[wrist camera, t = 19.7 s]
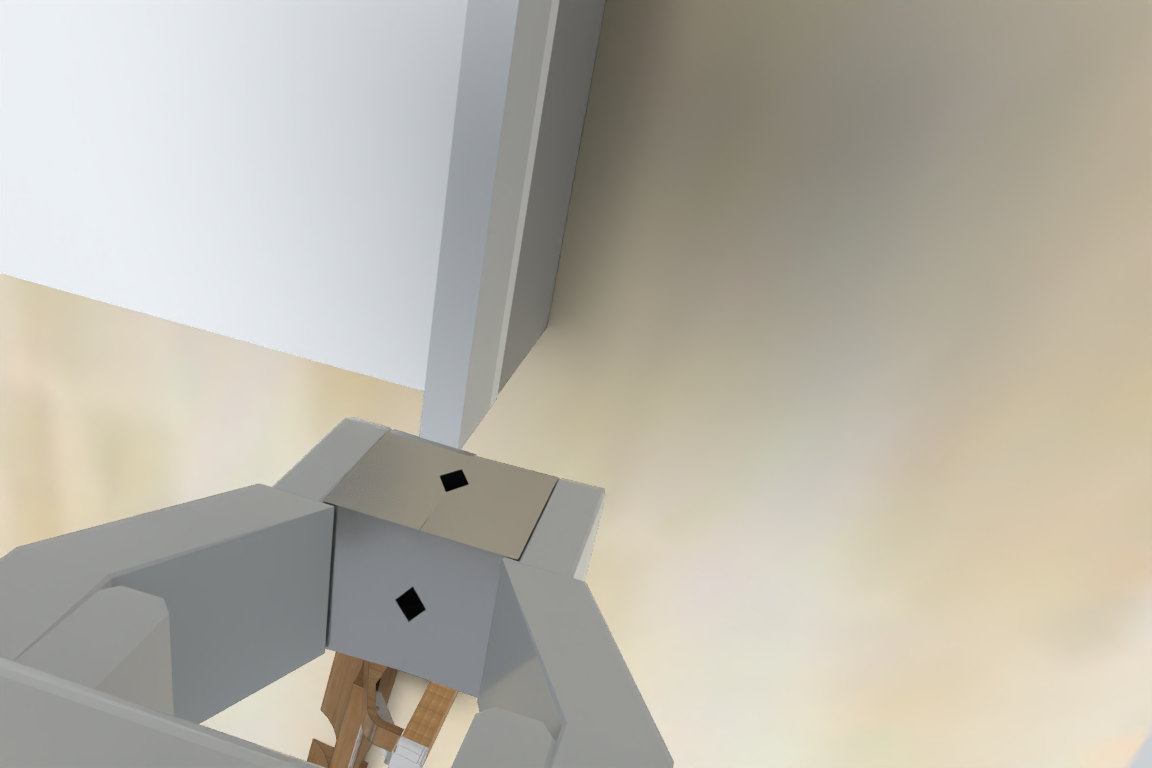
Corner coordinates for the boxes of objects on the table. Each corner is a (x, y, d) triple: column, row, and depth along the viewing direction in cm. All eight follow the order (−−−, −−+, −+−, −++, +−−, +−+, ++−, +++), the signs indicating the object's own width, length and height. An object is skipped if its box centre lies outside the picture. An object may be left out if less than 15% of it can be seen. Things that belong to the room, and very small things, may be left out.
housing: (-80, -267, 30) (-287, -327, 24) (629, -131, 27) (584, -163, 21) (-17, 178, 37) (-165, 212, 32) (546, 326, 34) (496, 395, 28)
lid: (-293, -328, 24) (-468, -379, 21) (584, -163, 21) (545, -192, 18) (-169, 214, 31) (-284, 241, 28) (496, 399, 28) (456, 454, 25)
